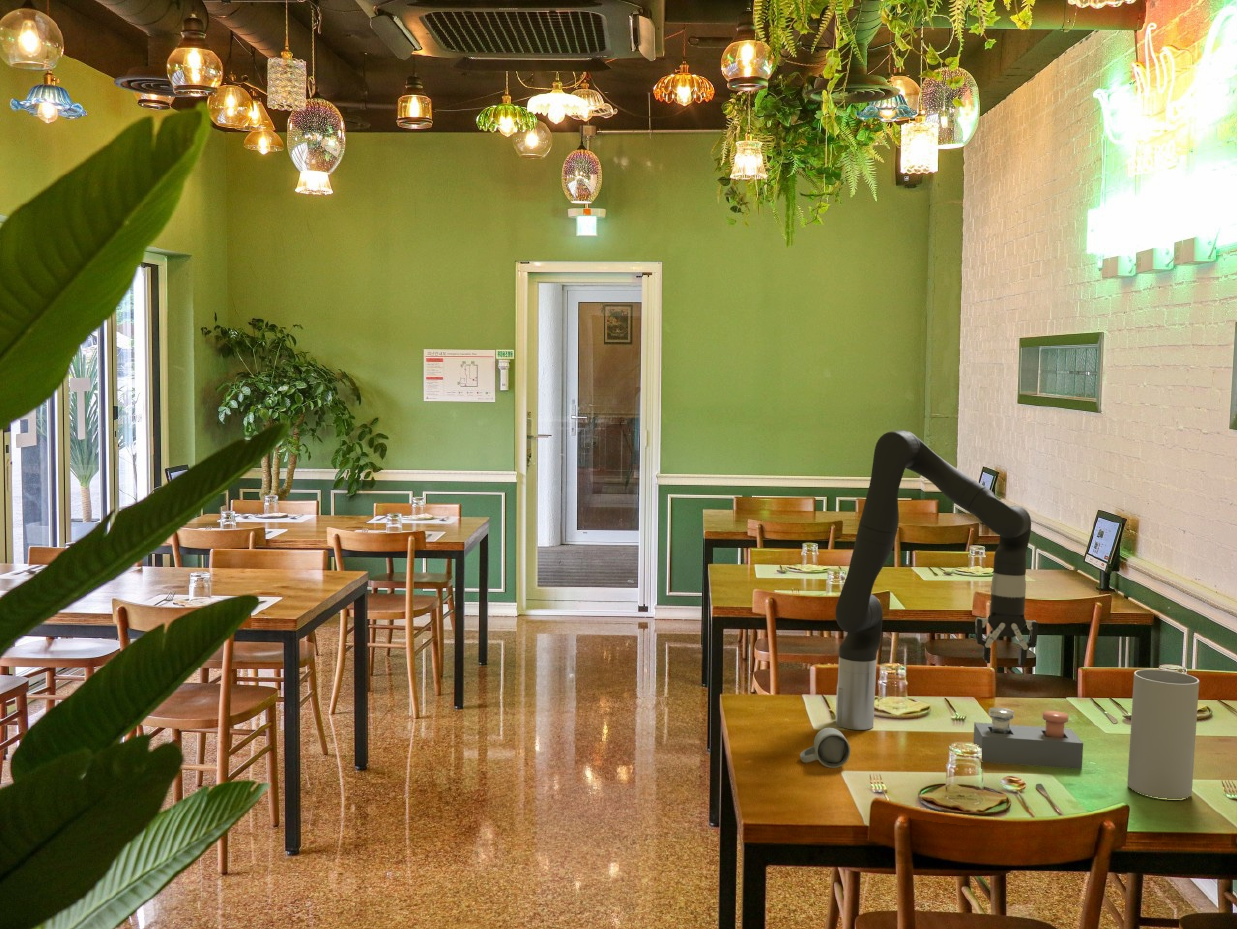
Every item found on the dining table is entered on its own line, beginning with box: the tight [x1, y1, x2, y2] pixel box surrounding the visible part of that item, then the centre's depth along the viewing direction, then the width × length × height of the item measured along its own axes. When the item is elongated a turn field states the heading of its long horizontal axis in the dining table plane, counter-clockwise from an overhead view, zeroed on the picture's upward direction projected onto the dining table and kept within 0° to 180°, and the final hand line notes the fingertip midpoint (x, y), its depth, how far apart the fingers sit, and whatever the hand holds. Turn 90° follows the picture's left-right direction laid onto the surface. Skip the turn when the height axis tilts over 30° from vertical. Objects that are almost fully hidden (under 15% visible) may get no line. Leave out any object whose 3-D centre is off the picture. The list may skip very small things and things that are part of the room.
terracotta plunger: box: [1041, 710, 1070, 738], centre depth 264 cm, size 6×6×6 cm
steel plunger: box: [988, 706, 1015, 734], centre depth 266 cm, size 6×6×6 cm
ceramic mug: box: [799, 727, 851, 769], centre depth 258 cm, size 11×8×8 cm
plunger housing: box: [973, 721, 1084, 770], centre depth 265 cm, size 22×11×6 cm, turn 82°
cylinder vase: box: [1127, 668, 1200, 799], centre depth 244 cm, size 12×12×25 cm
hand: (1004, 663), depth 265 cm, fingers open, 7 cm apart
